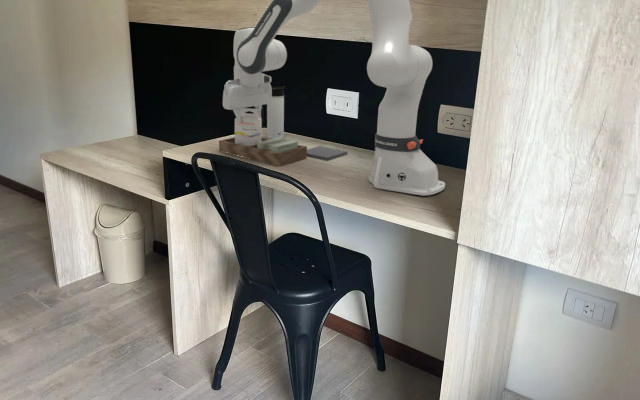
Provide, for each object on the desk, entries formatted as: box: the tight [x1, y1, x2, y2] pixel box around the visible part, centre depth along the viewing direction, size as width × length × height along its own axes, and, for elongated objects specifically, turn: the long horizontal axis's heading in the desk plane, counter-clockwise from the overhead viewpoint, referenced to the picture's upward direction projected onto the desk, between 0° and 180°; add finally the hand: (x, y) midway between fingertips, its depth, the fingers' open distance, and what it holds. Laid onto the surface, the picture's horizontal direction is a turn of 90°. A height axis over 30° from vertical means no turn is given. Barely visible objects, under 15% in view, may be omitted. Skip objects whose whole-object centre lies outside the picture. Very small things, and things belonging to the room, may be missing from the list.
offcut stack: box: [257, 138, 299, 153], centre depth 183 cm, size 10×11×6 cm
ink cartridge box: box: [234, 107, 263, 146], centre depth 190 cm, size 9×5×15 cm, turn 84°
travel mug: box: [266, 86, 286, 139], centre depth 208 cm, size 6×7×20 cm
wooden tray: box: [218, 136, 308, 167], centre depth 188 cm, size 27×14×4 cm, turn 53°
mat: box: [307, 145, 348, 162], centre depth 192 cm, size 12×12×1 cm
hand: (248, 119), depth 189 cm, fingers closed on ink cartridge box, 7 cm apart
